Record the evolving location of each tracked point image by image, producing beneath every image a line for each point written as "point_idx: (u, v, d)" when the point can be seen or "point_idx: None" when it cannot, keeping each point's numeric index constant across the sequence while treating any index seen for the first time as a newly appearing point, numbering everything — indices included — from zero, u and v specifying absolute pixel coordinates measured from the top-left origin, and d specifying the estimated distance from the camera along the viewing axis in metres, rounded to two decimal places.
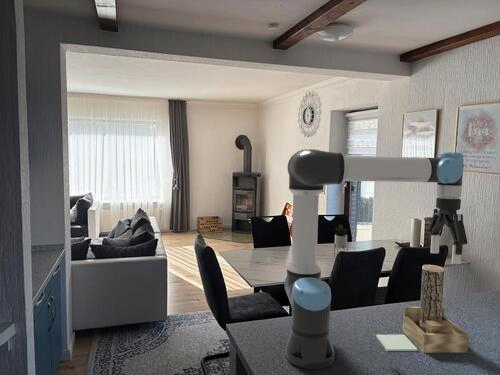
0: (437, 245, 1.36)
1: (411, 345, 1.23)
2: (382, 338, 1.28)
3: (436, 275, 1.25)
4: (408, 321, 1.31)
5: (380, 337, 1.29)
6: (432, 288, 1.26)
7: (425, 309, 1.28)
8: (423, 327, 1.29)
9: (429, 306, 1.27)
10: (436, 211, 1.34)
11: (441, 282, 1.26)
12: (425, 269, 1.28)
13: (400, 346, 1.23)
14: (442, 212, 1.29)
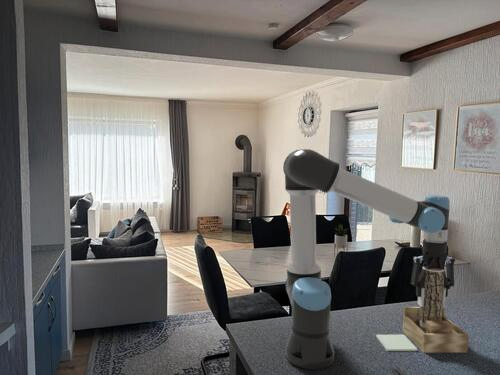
0: None
1: (411, 345, 1.23)
2: (382, 338, 1.28)
3: (436, 275, 1.25)
4: (408, 321, 1.31)
5: (380, 337, 1.29)
6: (432, 288, 1.26)
7: (425, 309, 1.28)
8: (423, 327, 1.29)
9: (429, 306, 1.27)
10: None
11: (441, 282, 1.26)
12: (425, 269, 1.28)
13: (400, 346, 1.23)
14: None
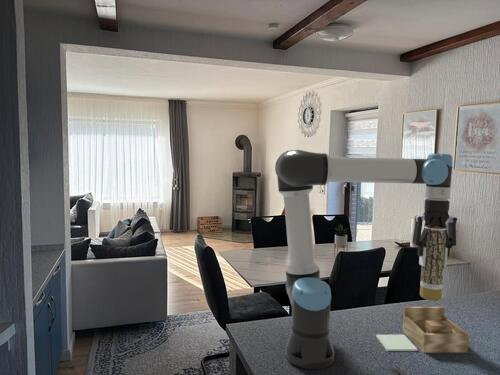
0: None
1: (411, 345, 1.23)
2: (382, 338, 1.28)
3: (438, 234, 1.24)
4: (408, 321, 1.31)
5: (380, 337, 1.29)
6: (434, 246, 1.25)
7: (426, 268, 1.27)
8: (424, 287, 1.28)
9: (430, 265, 1.26)
10: None
11: (443, 241, 1.25)
12: (427, 228, 1.26)
13: (400, 346, 1.23)
14: None
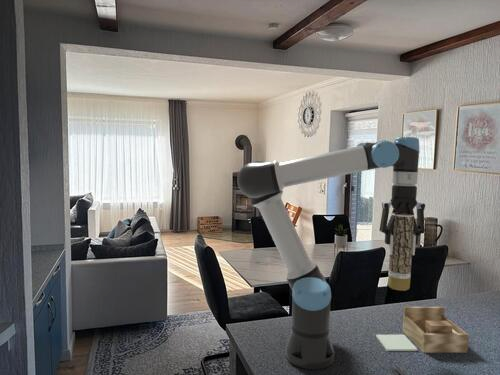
0: None
1: (411, 345, 1.23)
2: (382, 338, 1.28)
3: (405, 220, 1.19)
4: (408, 321, 1.31)
5: (380, 337, 1.29)
6: (401, 234, 1.20)
7: (394, 257, 1.22)
8: (392, 276, 1.22)
9: (397, 253, 1.21)
10: None
11: (410, 228, 1.20)
12: (394, 215, 1.21)
13: (400, 346, 1.23)
14: None
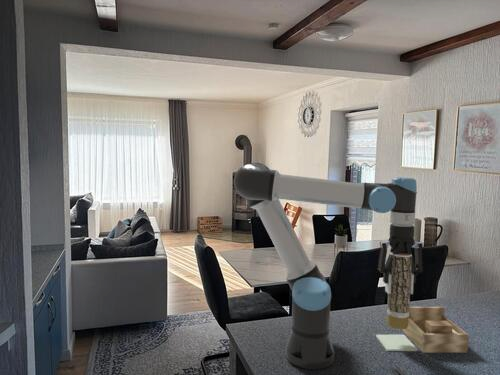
0: (410, 284, 1.24)
1: (411, 345, 1.23)
2: (382, 338, 1.28)
3: (403, 261, 1.20)
4: None
5: (380, 337, 1.29)
6: (399, 274, 1.21)
7: (392, 296, 1.23)
8: (390, 315, 1.23)
9: (396, 292, 1.22)
10: None
11: (408, 268, 1.21)
12: (392, 254, 1.22)
13: (400, 346, 1.23)
14: None
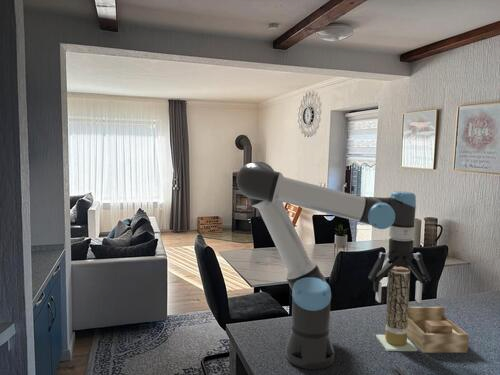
0: (418, 293, 1.24)
1: (411, 345, 1.23)
2: (382, 338, 1.28)
3: (401, 277, 1.21)
4: (408, 321, 1.31)
5: (380, 337, 1.29)
6: (398, 290, 1.21)
7: (391, 312, 1.23)
8: (389, 331, 1.24)
9: (394, 309, 1.22)
10: None
11: (406, 284, 1.21)
12: (390, 271, 1.23)
13: (400, 346, 1.23)
14: None
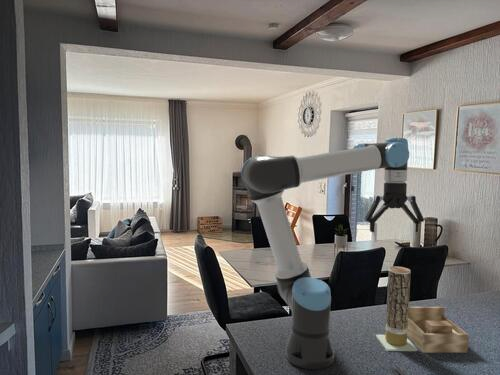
0: (412, 233, 1.32)
1: (411, 345, 1.23)
2: (382, 338, 1.28)
3: (402, 278, 1.21)
4: (408, 321, 1.31)
5: (380, 337, 1.29)
6: (398, 290, 1.21)
7: (391, 312, 1.23)
8: (389, 331, 1.24)
9: (394, 309, 1.22)
10: None
11: (407, 284, 1.21)
12: (391, 271, 1.23)
13: (400, 346, 1.23)
14: None
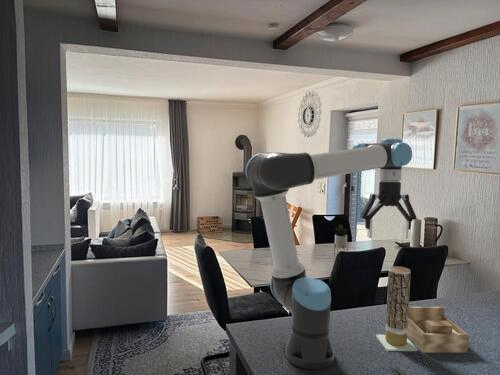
0: (405, 230, 1.38)
1: (411, 345, 1.23)
2: (382, 338, 1.28)
3: (402, 278, 1.21)
4: (408, 321, 1.31)
5: (380, 337, 1.29)
6: (398, 290, 1.21)
7: (391, 312, 1.23)
8: (389, 331, 1.24)
9: (394, 309, 1.22)
10: None
11: (407, 284, 1.21)
12: (391, 271, 1.23)
13: (400, 346, 1.23)
14: None
